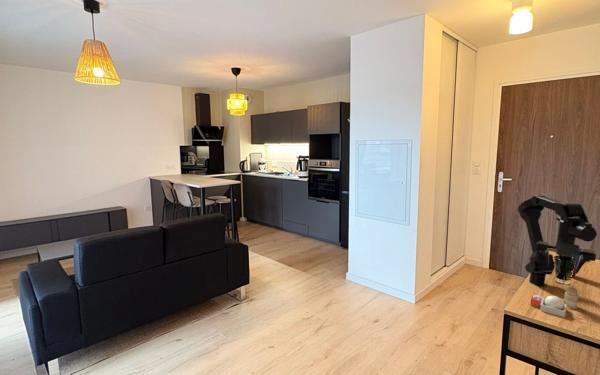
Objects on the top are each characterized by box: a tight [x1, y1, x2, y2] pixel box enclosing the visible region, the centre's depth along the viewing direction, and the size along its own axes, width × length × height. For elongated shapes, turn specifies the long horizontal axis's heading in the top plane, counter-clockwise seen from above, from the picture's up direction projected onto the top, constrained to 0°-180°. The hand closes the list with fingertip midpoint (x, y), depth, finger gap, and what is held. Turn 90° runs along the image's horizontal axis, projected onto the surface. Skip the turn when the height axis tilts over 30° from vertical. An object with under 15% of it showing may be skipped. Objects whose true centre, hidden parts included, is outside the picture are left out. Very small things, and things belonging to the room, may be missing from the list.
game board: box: [533, 294, 577, 318], centre depth 127 cm, size 18×14×4 cm
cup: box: [571, 246, 583, 278], centre depth 157 cm, size 7×7×15 cm
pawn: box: [563, 286, 579, 309], centre depth 126 cm, size 4×4×8 cm
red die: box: [529, 295, 542, 309], centre depth 127 cm, size 3×3×3 cm
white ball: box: [544, 295, 564, 310], centre depth 123 cm, size 6×6×6 cm
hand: (561, 270), depth 132 cm, fingers open, 9 cm apart
